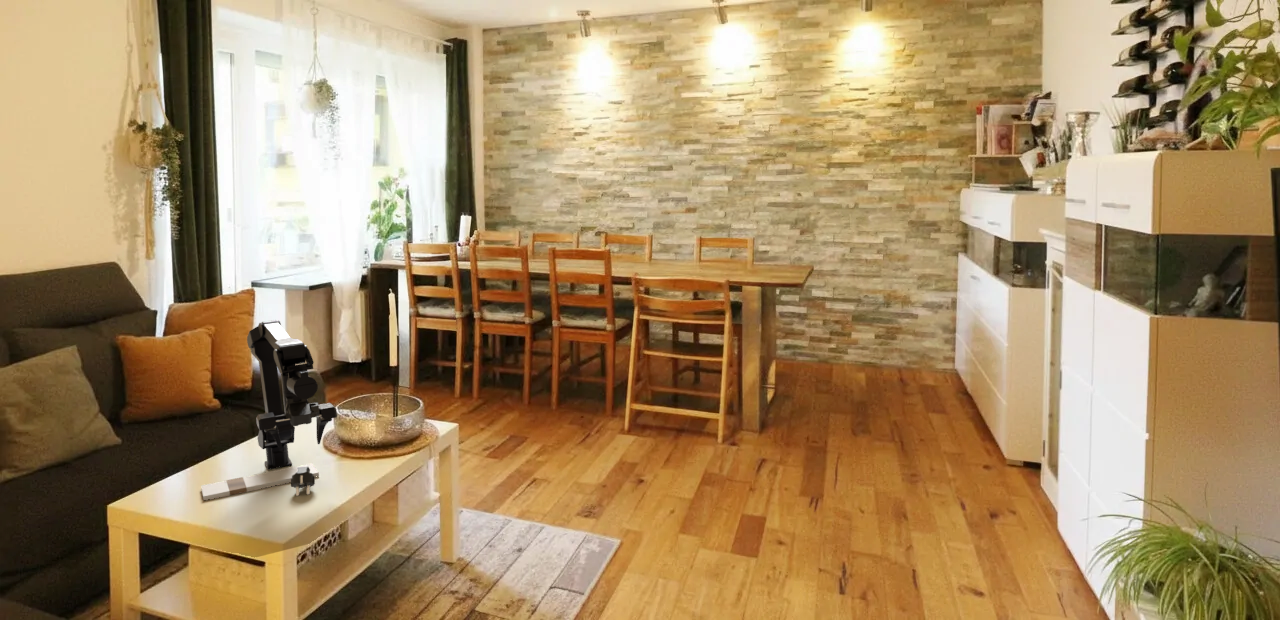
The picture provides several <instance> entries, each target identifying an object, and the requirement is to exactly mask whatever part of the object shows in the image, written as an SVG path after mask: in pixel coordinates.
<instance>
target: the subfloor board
mask: <svg viewBox="0 0 1280 620" xmlns="http://www.w3.org/2000/svg"><path fill="white" fill-rule="evenodd" d="M307 466H308V467H309V468H310V473H312V474H313V475H314V477H315V478H317V477H316V476H320V475H319V474H320V473H319V471H318V469H317V468H316V466H315V465H314V463H313V462H311V463H305V464H302V465H296V466H292V467H287V468H282V469H276V470H272V471H268V472H267V471H266V472H263V473H262V472H261V473H257V474H252V475H246V476H241V477H237V478H232V479H226V480H222V481H217V482H210V483H208V484H207V483H205V484H202V485H200V487H201V489H200V490H201V495H202V499H203V501H204V500H206V501H209V500H208V499H210V500H214V498H215V499H219V497H220V498H224V497H229V496H234V495H239V494H242V493H247V492H253V491H257V490H262V489H266V488H265V487H267V488H271V486H272V487H276V486H275V485H277V486H280V484H281V485H286V484H290V483H289V482H291V479H292V475H294V474H295V473H296V472H297V471H298V469H297V468H298V467H307ZM285 483H286V484H285ZM261 488H262V489H261Z"/></svg>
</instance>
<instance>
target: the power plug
mask: <svg viewBox="0 0 1280 620" xmlns="http://www.w3.org/2000/svg"><path fill="white" fill-rule="evenodd" d="M297 469H298V471H297V472H296V473H295V474H294V475H292V479H291V483H290V486H291V488H294V489H295V496H296V497H299V496H300V489H304V488H306V496H310V494H311V491H310V490H311V487H314V486H315V484H316V483H315V482H316V481H315V480H316V477H314V475H313V474H312V473H310V468H309V467H308V466H307V467H298V468H297Z"/></svg>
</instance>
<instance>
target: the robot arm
mask: <svg viewBox="0 0 1280 620" xmlns="http://www.w3.org/2000/svg"><path fill="white" fill-rule="evenodd" d="M246 336H247V337H246V343H247V346H248V348H249V350H250V352H251V354H252V356H253V357H254V359H256V360H257V361H258V366H259V373H260V381H261V387H262V396H263V403H264V411H265V412H264V413H260V414H259V413H258V414H257V416H256V419H255V420H256V425H257V428H258V435H257V444H258V447H260V448H261V450H265V453H266V454H265V455H266V461H264V465H265V467H266V469H267V470H272V469H278V468H284V467H289V466H292V465H293V462H292V461H291V458H290V456H289V447H288V446H289V445H288V444H293V443H294V442H295V429H296V428H295V427H298V426H301V425H309V424H311V423H312V421H313V418H316V442H317V445H320V444H321V441H322V438H323V435H324V430H325V428H326V426H327V424H328V423H329V422H332V421H333V419H335V418H337V417H338V411H337V408H336V406H334V404H332V403H331V402H328V403H320V404H319V402H312V403H311V402H310V403H309V399H310V398H312V397H314V396H315V394H316V393H317V391H318V382H317V380H316V379H315V378H314V377H312V376H310V375H309V372H308V371H310V370H313V369H314V363H315V361H314V359H313V357H312V354H311V351H310V349H309V348H308V346H307V344H305V343H304V341H302V340H301V339H297V338H292V337H291V336H290V335H289V334H288V332H287V331H286V330H285V329H284V328H283V326H282V324H281V321H280V320H276V319H275V320H274V319H273V320H265V321H261V322H259V323H258V325H257V326H255V327H254V328H252V329H251V330H249V332H248V334H247V335H246ZM278 372H279V373H280V378H281V379H279V373H278ZM280 380H281V386H280ZM281 388H282V389H281ZM281 391H282V393H281ZM282 400H283V402H282ZM282 403H283V404H282Z"/></svg>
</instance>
